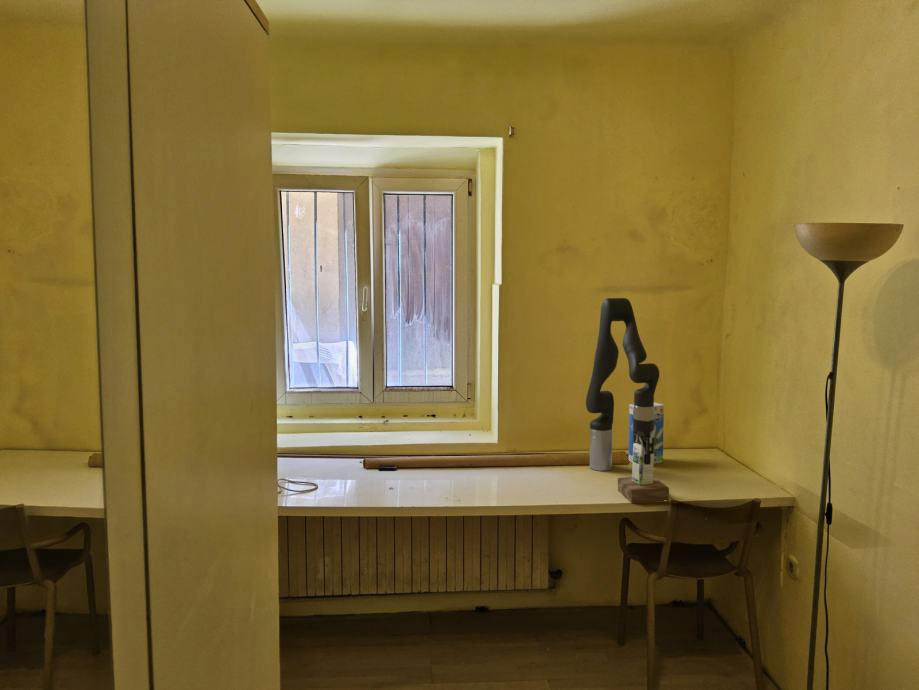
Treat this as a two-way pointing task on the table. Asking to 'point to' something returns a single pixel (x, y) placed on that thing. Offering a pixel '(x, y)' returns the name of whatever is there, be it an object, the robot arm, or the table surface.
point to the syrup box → (641, 466)
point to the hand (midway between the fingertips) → (643, 460)
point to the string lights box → (655, 434)
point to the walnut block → (643, 490)
